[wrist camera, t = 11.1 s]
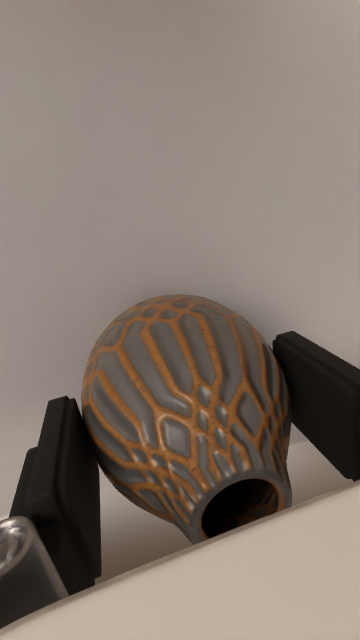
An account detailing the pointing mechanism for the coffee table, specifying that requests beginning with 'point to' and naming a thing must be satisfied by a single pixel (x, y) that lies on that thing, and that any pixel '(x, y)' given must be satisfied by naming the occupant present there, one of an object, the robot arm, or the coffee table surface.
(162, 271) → the coffee table surface
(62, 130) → the coffee table surface
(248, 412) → the vase
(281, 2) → the coffee table surface
